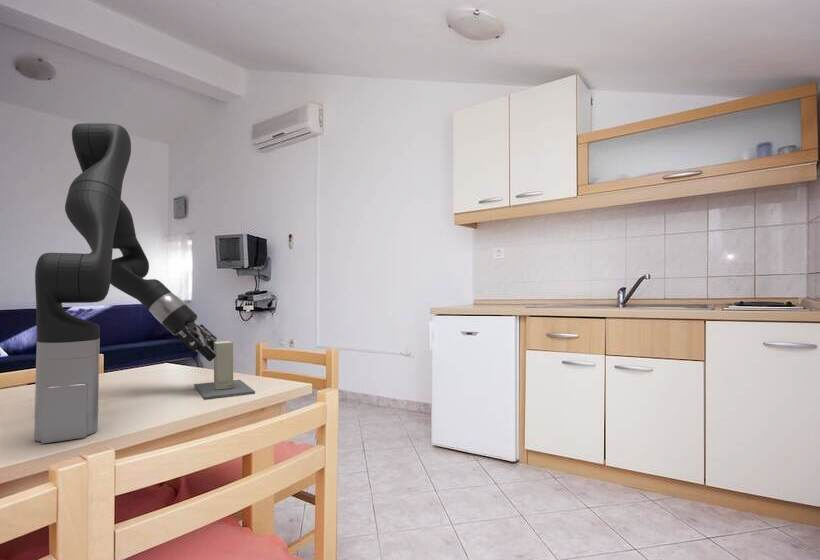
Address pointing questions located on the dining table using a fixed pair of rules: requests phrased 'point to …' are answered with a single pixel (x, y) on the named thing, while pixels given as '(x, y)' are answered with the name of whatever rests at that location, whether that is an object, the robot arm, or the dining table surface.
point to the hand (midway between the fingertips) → (218, 356)
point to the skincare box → (223, 365)
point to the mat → (223, 390)
